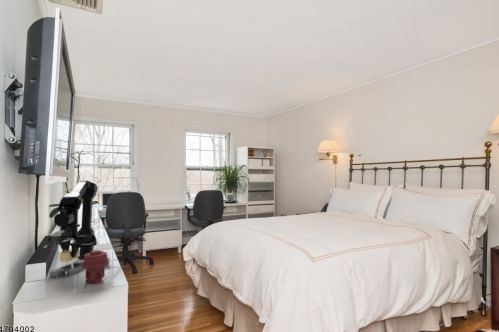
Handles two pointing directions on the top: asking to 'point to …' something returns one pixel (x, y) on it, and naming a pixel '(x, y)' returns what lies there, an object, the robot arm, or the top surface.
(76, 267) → the studded rectangular link
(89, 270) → the mechanical component
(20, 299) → the top surface
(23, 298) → the top surface
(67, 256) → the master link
